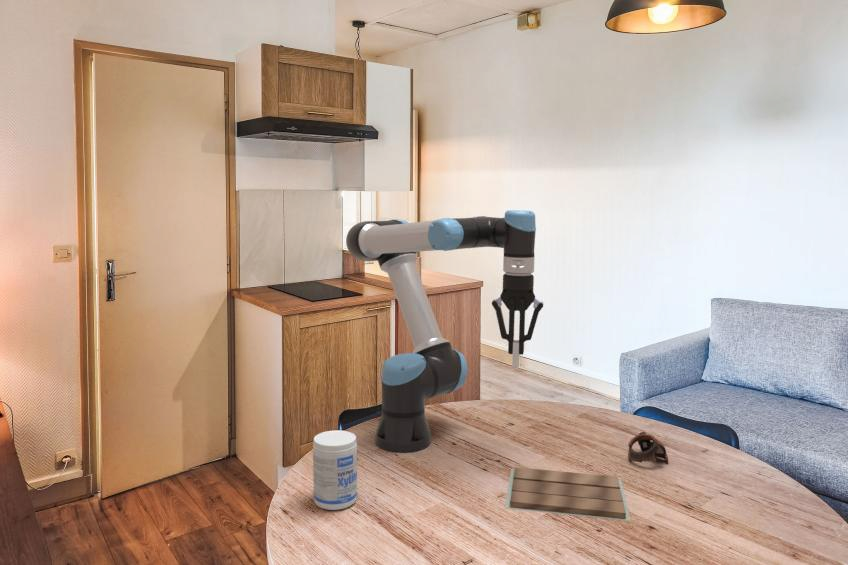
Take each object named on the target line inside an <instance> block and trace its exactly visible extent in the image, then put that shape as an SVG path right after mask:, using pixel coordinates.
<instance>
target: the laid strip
mask: <svg viewBox="0 0 848 565" xmlns="http://www.w3.org/2000/svg"><path fill="white" fill-rule="evenodd" d="M510 507H518V508H528V509H538V510H548V511H557V512H567V513H577V514H587V515H596V516H606V517H616V518H626V512H625V507H624V503H623V502H620V501H610V500H600V499H590V498H579V497H569V496H559V495H549V494H539V493H528V492H518V491H512V492H511V500H510Z"/></svg>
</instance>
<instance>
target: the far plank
mask: <svg viewBox="0 0 848 565" xmlns="http://www.w3.org/2000/svg"><path fill="white" fill-rule="evenodd" d="M513 470H514V478H513V479H518V480H529V481H540V482H550V483H561V484H571V485H582V486H593V487H603V488H614V489H620V485H619V481H618V479H619V478H618V476H615V475H604V474H594V473H582V472H581V473H580V472H572V471H571V472H570V471H560V470H552V469H550V470H549V469H548V470H547V469H538V468H529V467H528V468H527V467H526V468H525V467H517V466H516V467H514V469H513Z"/></svg>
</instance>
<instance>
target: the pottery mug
mask: <svg viewBox="0 0 848 565" xmlns="http://www.w3.org/2000/svg"><path fill="white" fill-rule="evenodd" d="M636 443H637V444H638V446H639V448H640V451H635V450H634V449H633V447H634V444H636ZM627 446H628V452H627V457H628V461H629V462H637V463H643V462H644V463H645V462H649V461H654V462H657V459H656V458H660V459H663V460H664V461H665V463H666V464H667V465H669V457H668V454H667V450H666V447H665V445H664V444H663V442H662V441H661V440H659V439H657V438H656V437H655V436H654V435H652V434H651V433H647V432H646V431H642V432H640V433H638V435H635V436H633V437H632V438H631V439H630V440H629V442H628V445H627Z"/></svg>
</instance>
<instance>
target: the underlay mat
mask: <svg viewBox="0 0 848 565" xmlns="http://www.w3.org/2000/svg"><path fill="white" fill-rule="evenodd" d="M514 470H515V469H510V472H509V474H510V475H509V480H508V487H507V488H508V489H507V492H506V494H507V495H506V500H505V509H513V510H521V511H530V512H539V513H548V514H549V513H550V514H558V515H568V516H579V517H586V518H596V519H597V518H598V519H607V520H616V521H626V522H627V521H628V522H631V521H632V520H631V517H630V512H629V507H628V504H627V500H626V495H625V492H624V491H625V490H624V487H623V482H622V481H623V480H622V479H620V478H618V481H619V485H620V490H621V494H622V498H623V503H624V507H625V512H626V518H616V517H606V516H596V515H587V514H577V513H567V512H557V511H548V510H538V509H528V508H518V507H510V500H511V492H512V485H513V478H514Z"/></svg>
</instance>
